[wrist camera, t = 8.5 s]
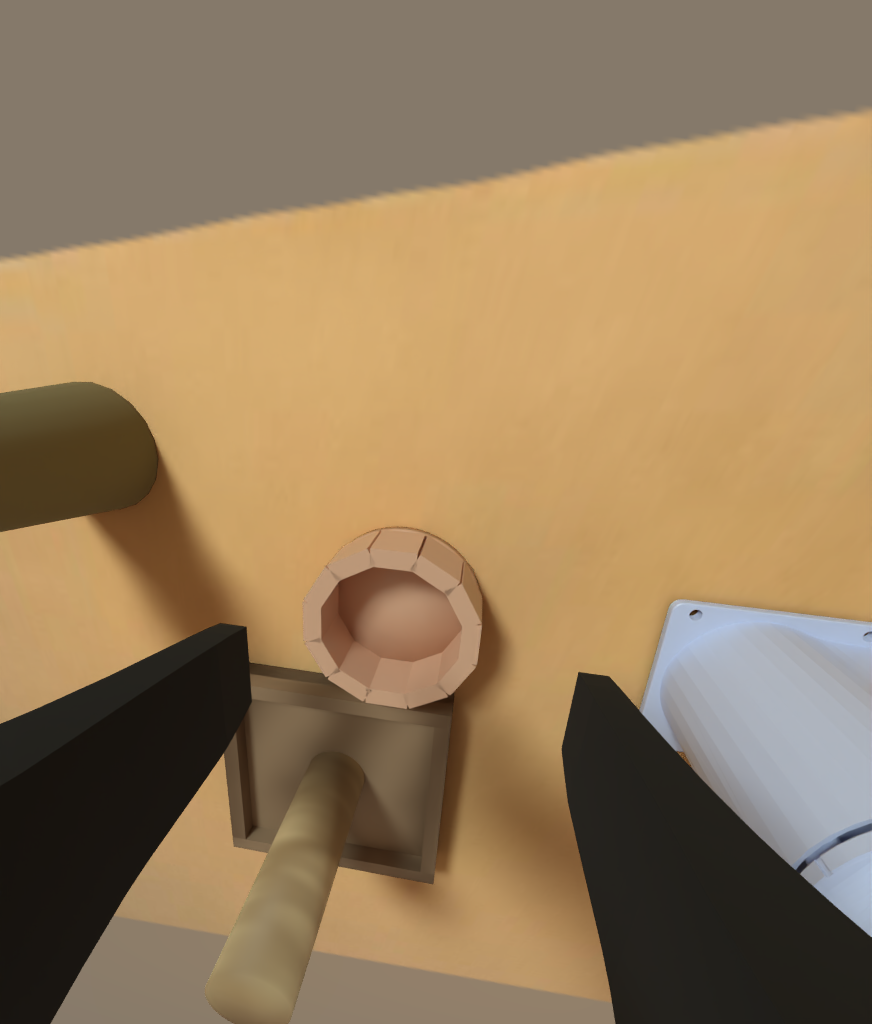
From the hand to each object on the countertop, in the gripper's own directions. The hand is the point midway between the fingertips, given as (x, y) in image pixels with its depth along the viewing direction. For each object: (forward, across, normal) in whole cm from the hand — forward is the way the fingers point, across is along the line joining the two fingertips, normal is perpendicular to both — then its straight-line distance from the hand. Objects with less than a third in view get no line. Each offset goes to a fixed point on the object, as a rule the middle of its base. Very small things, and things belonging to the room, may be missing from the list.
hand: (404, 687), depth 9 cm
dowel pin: (+10, +5, +15) cm, 18 cm away
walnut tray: (+10, +5, +15) cm, 19 cm away
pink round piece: (+10, +2, +4) cm, 11 cm away
